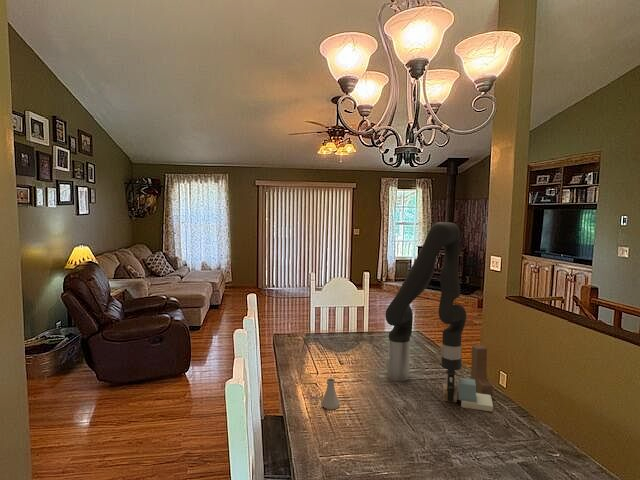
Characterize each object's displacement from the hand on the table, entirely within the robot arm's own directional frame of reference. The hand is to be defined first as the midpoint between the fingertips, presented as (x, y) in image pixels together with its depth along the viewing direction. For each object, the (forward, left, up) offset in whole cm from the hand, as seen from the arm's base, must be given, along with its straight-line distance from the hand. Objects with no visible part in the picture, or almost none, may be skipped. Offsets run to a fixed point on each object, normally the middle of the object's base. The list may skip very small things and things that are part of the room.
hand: (450, 396), depth 157 cm
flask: (-43, -21, -1) cm, 48 cm away
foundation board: (+9, -1, -1) cm, 9 cm away
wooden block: (+12, +11, -1) cm, 16 cm away
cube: (+6, -1, +1) cm, 6 cm away
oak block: (0, 0, -1) cm, 1 cm away
